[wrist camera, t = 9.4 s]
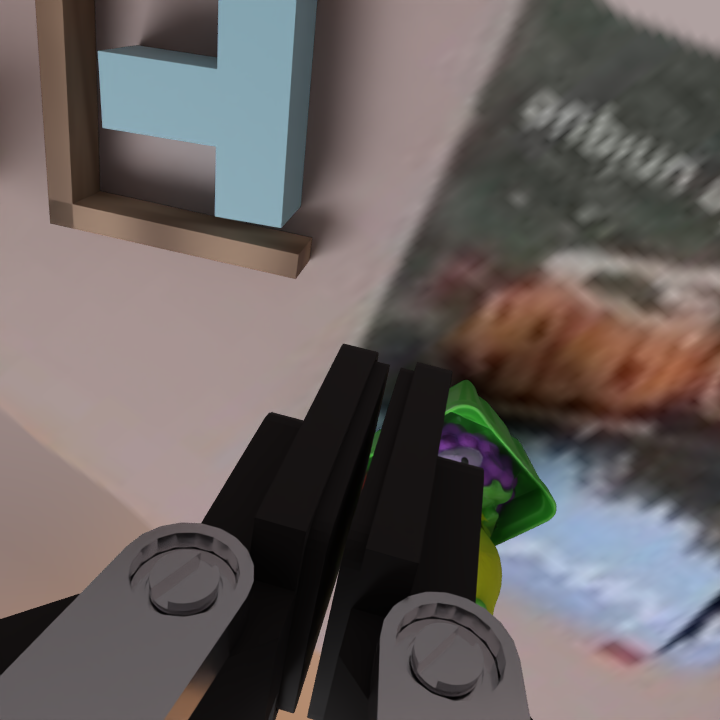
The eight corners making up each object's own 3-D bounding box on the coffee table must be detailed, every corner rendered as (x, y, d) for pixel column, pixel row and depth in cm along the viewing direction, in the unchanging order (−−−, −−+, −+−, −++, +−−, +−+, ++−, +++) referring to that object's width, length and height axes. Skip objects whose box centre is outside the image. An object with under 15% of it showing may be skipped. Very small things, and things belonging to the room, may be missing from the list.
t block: (317, -6, 28) (296, -6, 25) (300, 206, 33) (281, 228, 30) (134, -32, 29) (92, -35, 26) (142, 179, 33) (106, 197, 30)
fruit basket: (473, 345, 34) (460, 485, 24) (570, 467, 37) (593, 640, 27) (309, 446, 39) (244, 596, 29) (403, 548, 41) (372, 719, 32)
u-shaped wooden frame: (354, -82, 27) (340, -88, 24) (309, 260, 34) (295, 279, 32) (63, -133, 28) (25, -145, 25) (78, 209, 35) (50, 223, 33)
